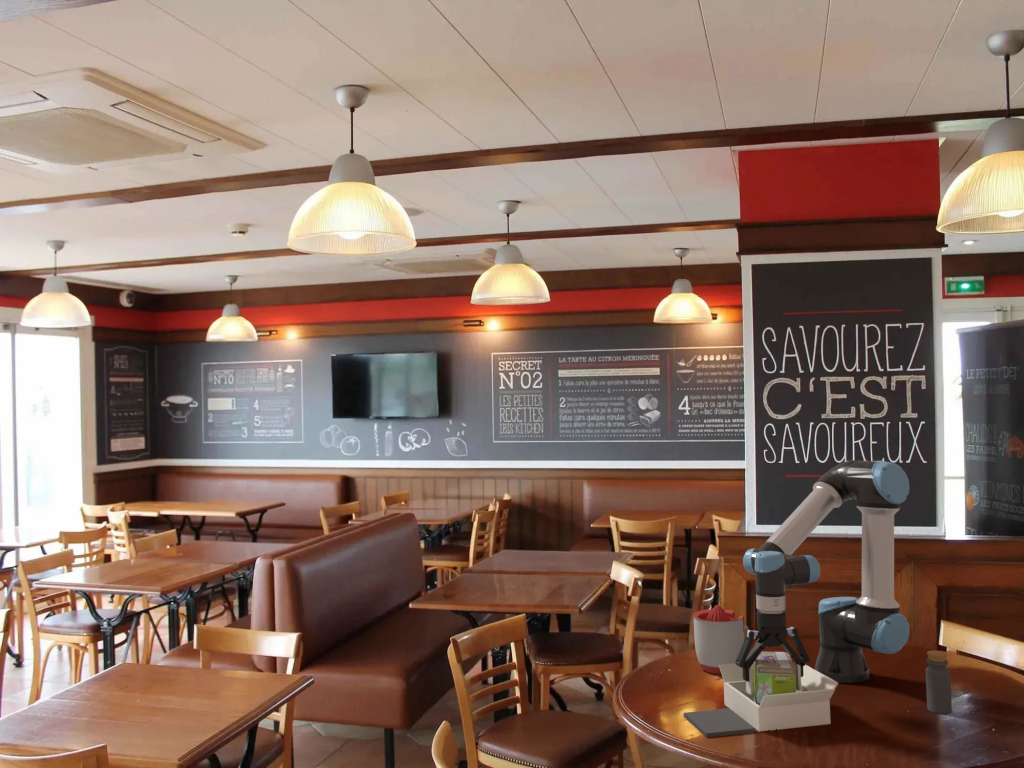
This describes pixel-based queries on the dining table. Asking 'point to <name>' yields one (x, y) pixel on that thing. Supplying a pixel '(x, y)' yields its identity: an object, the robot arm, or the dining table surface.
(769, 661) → the tea box
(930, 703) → the bottle
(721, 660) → the citrus juicer
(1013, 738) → the dining table surface
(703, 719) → the mat
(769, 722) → the carton
